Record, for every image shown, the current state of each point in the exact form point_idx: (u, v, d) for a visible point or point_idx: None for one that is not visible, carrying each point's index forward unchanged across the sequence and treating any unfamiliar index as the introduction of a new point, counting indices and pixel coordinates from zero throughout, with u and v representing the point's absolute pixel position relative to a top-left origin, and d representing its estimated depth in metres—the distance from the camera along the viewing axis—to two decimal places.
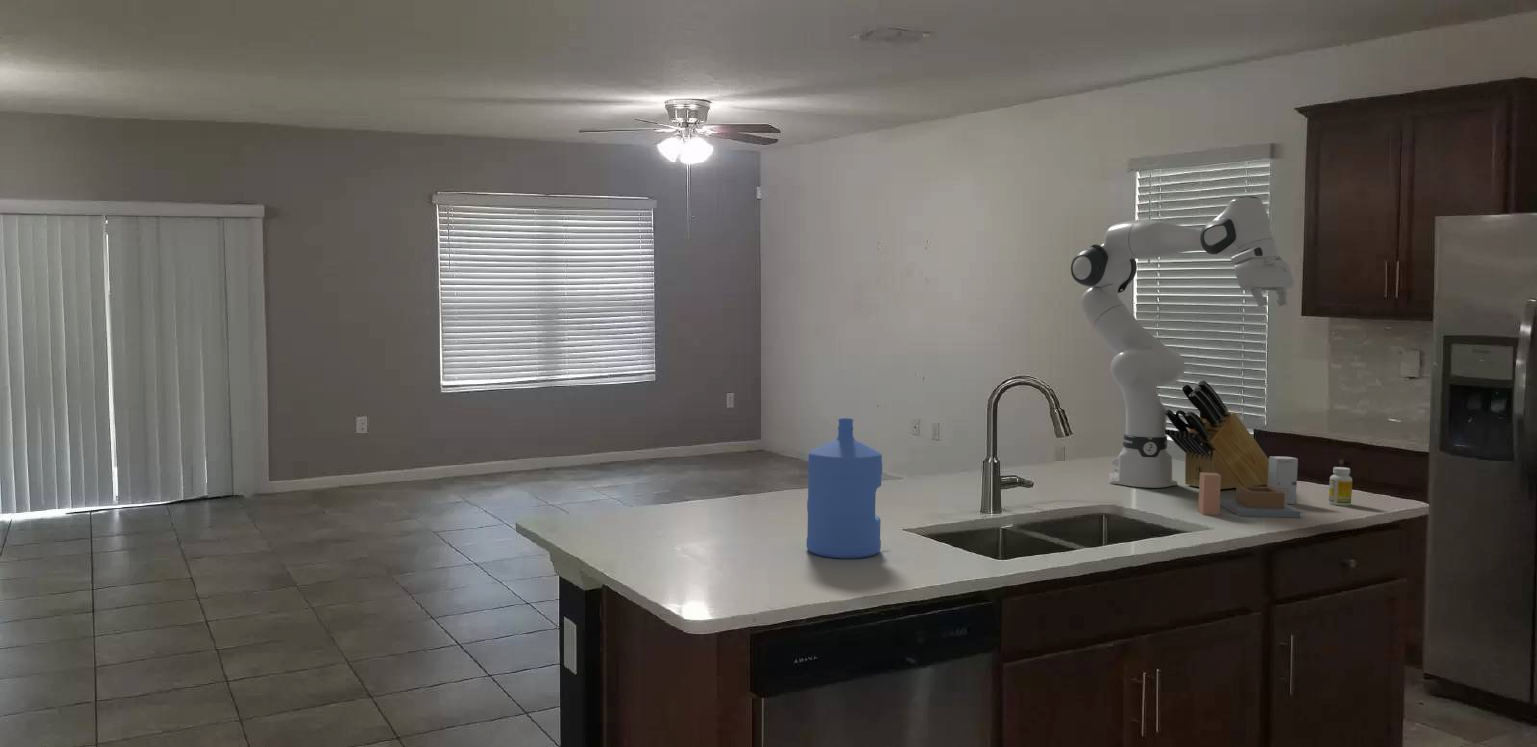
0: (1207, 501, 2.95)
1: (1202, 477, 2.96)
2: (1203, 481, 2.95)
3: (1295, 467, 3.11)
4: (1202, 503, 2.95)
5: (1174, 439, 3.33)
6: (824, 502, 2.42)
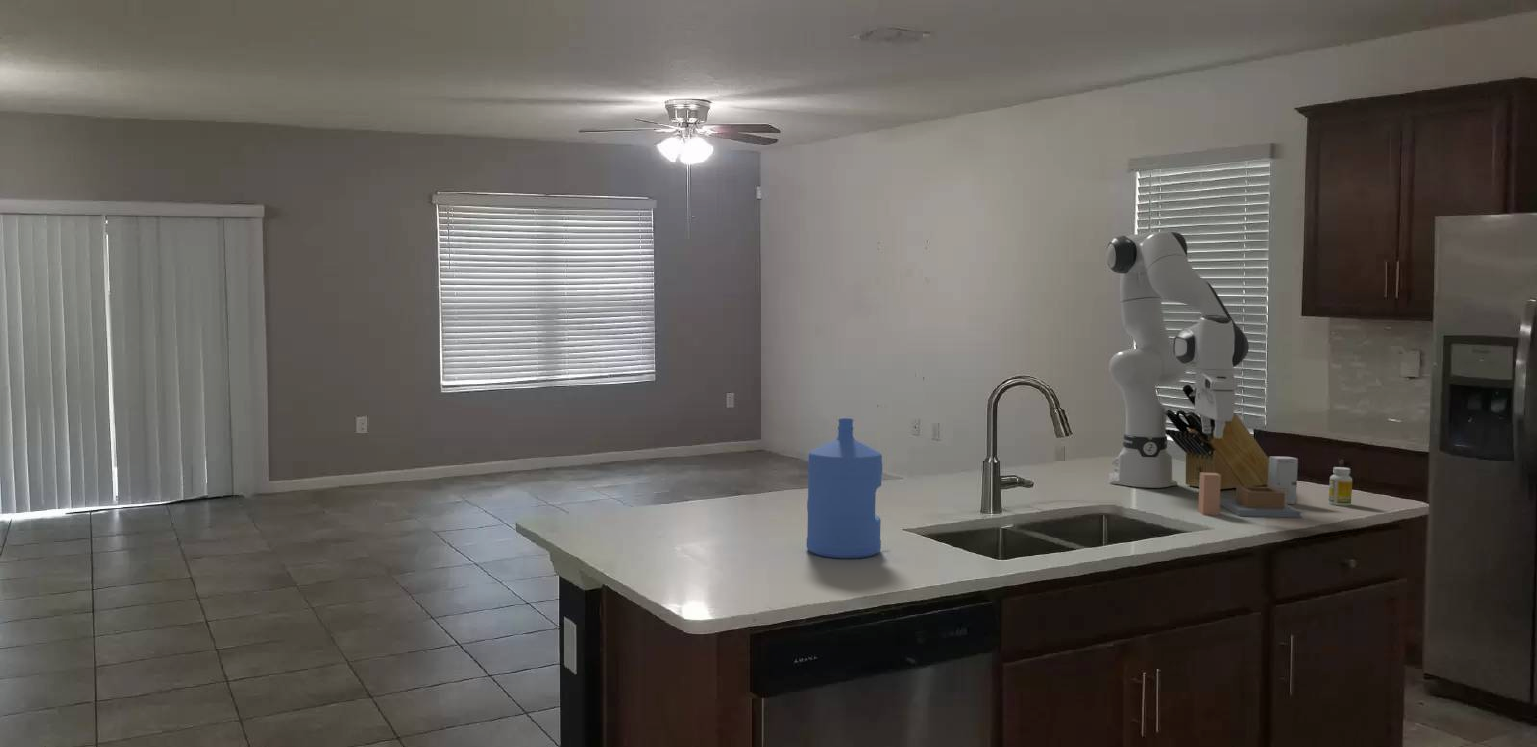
0: (1207, 501, 2.95)
1: (1202, 477, 2.96)
2: (1202, 481, 2.95)
3: (1295, 467, 3.11)
4: (1202, 503, 2.95)
5: (1174, 439, 3.33)
6: (824, 502, 2.42)
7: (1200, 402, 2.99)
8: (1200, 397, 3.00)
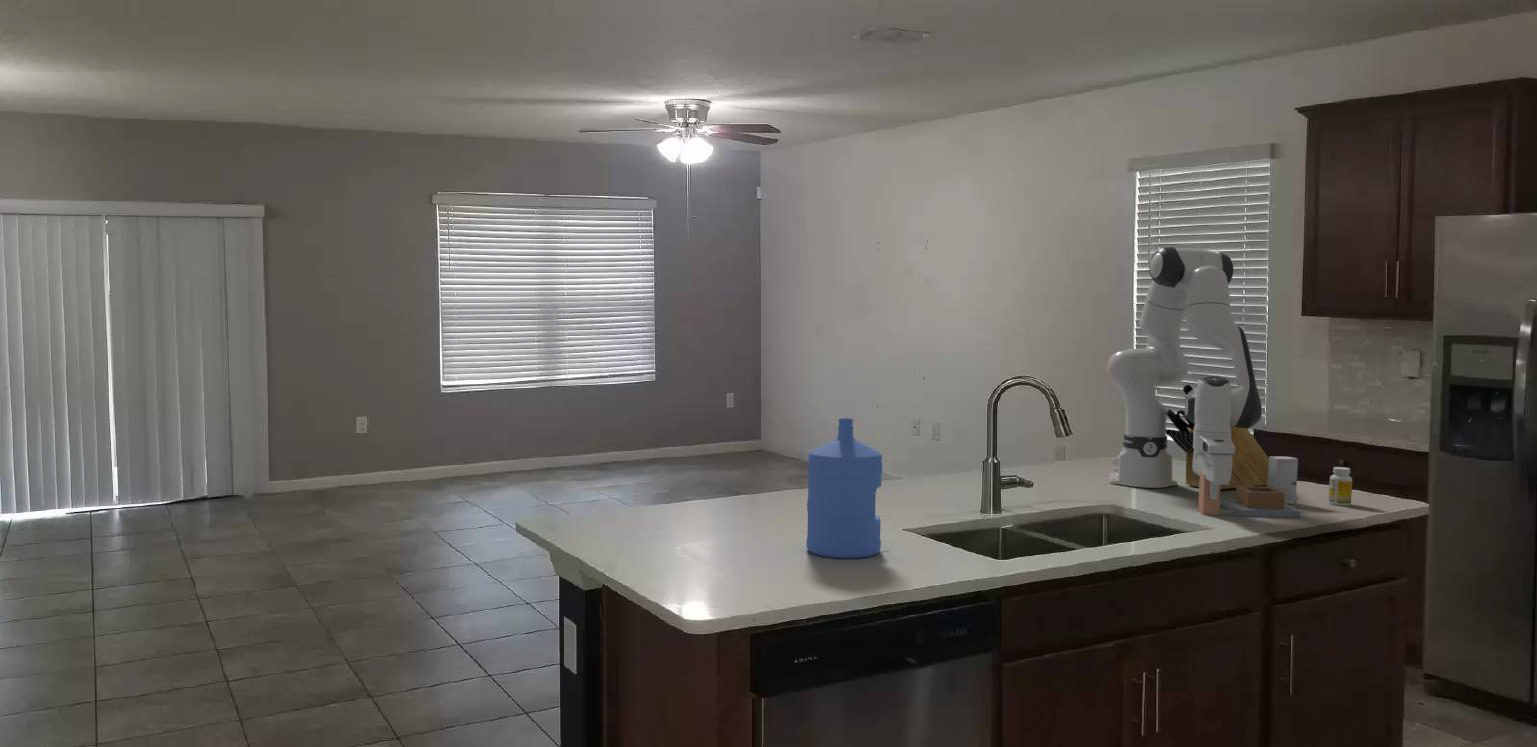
0: (1207, 501, 2.95)
1: (1202, 477, 2.96)
2: (1202, 481, 2.95)
3: (1295, 467, 3.11)
4: (1202, 503, 2.95)
5: (1175, 439, 3.33)
6: (824, 502, 2.42)
7: (1198, 462, 3.01)
8: (1198, 457, 3.02)
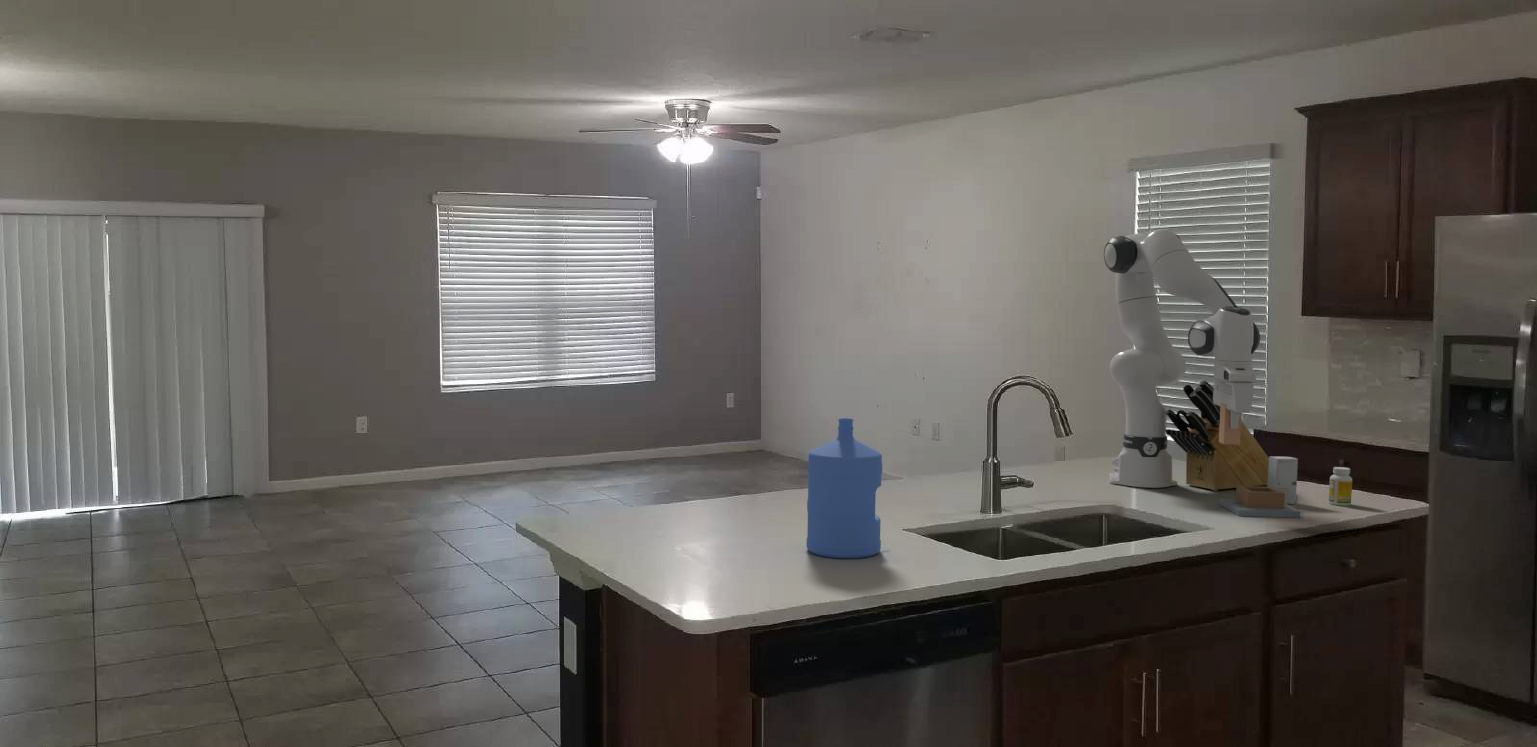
0: (1228, 431, 2.95)
1: (1223, 407, 2.96)
2: (1223, 411, 2.96)
3: (1295, 467, 3.11)
4: (1223, 433, 2.96)
5: (1175, 439, 3.33)
6: (824, 502, 2.42)
7: (1218, 393, 3.01)
8: (1218, 388, 3.02)
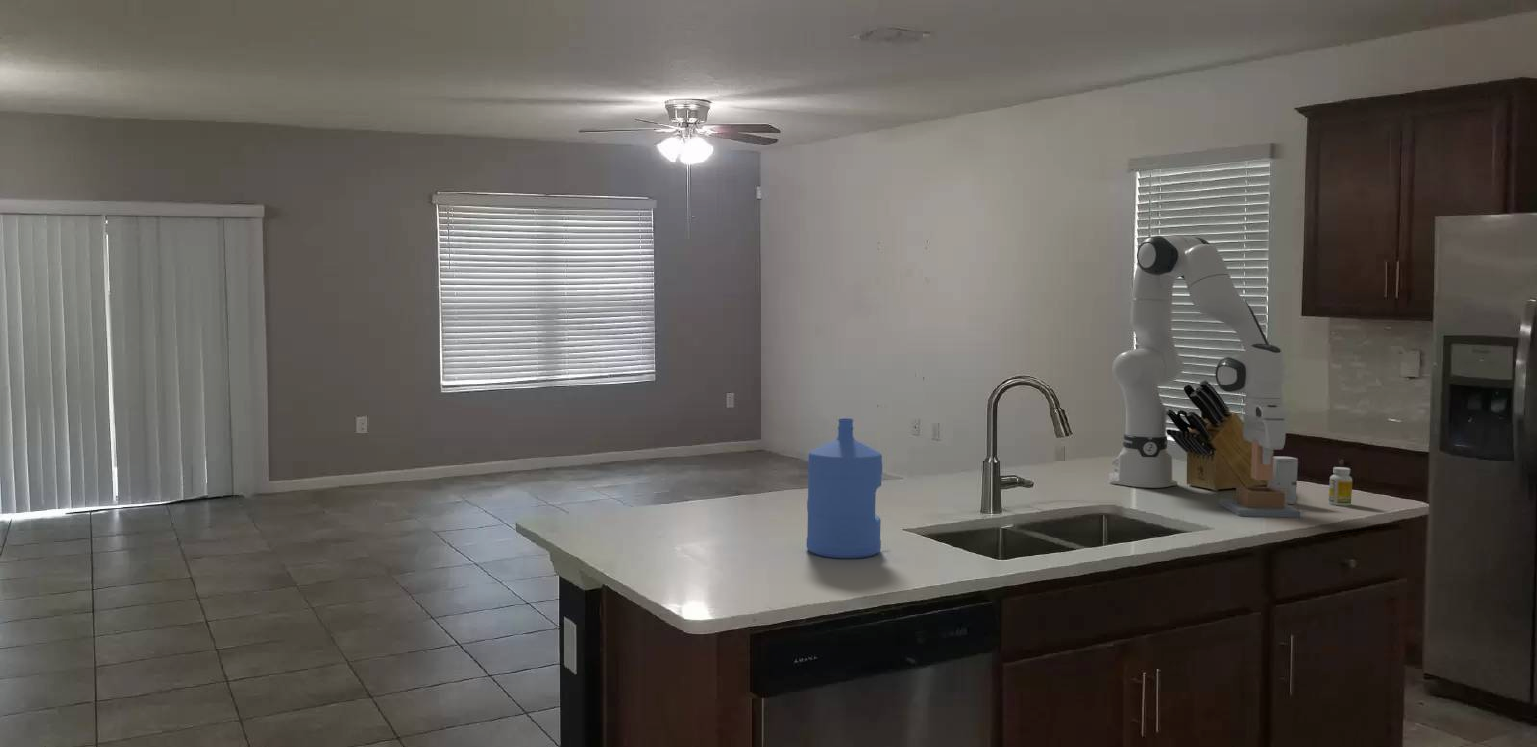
0: (1260, 467, 2.98)
1: (1255, 443, 2.99)
2: (1255, 447, 2.99)
3: (1295, 467, 3.11)
4: (1255, 469, 2.99)
5: (1175, 439, 3.33)
6: (824, 502, 2.42)
7: (1249, 429, 3.04)
8: (1249, 424, 3.05)
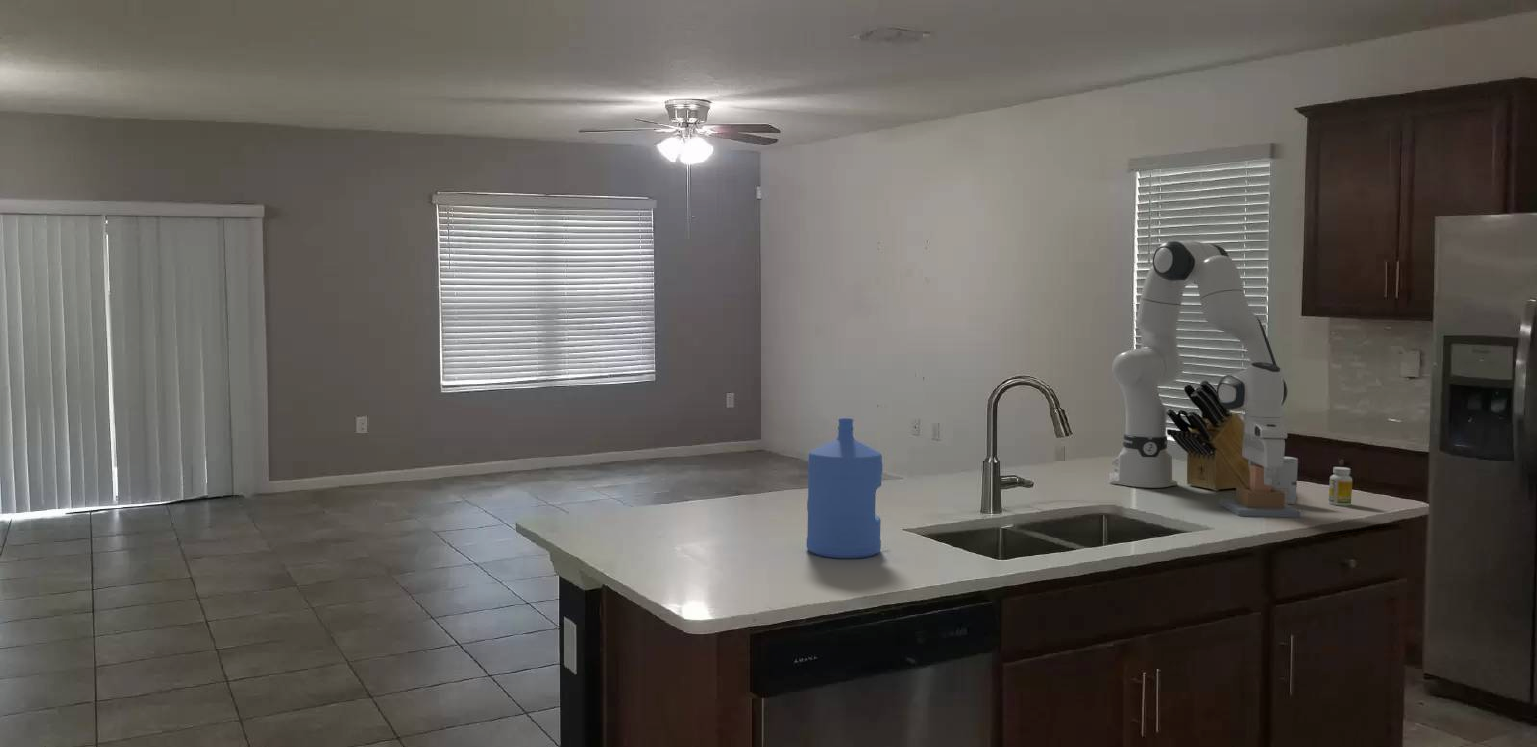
0: None
1: (1253, 469, 3.00)
2: (1253, 473, 2.99)
3: (1295, 467, 3.11)
4: None
5: (1176, 439, 3.33)
6: (824, 502, 2.42)
7: (1248, 447, 3.04)
8: (1248, 442, 3.05)
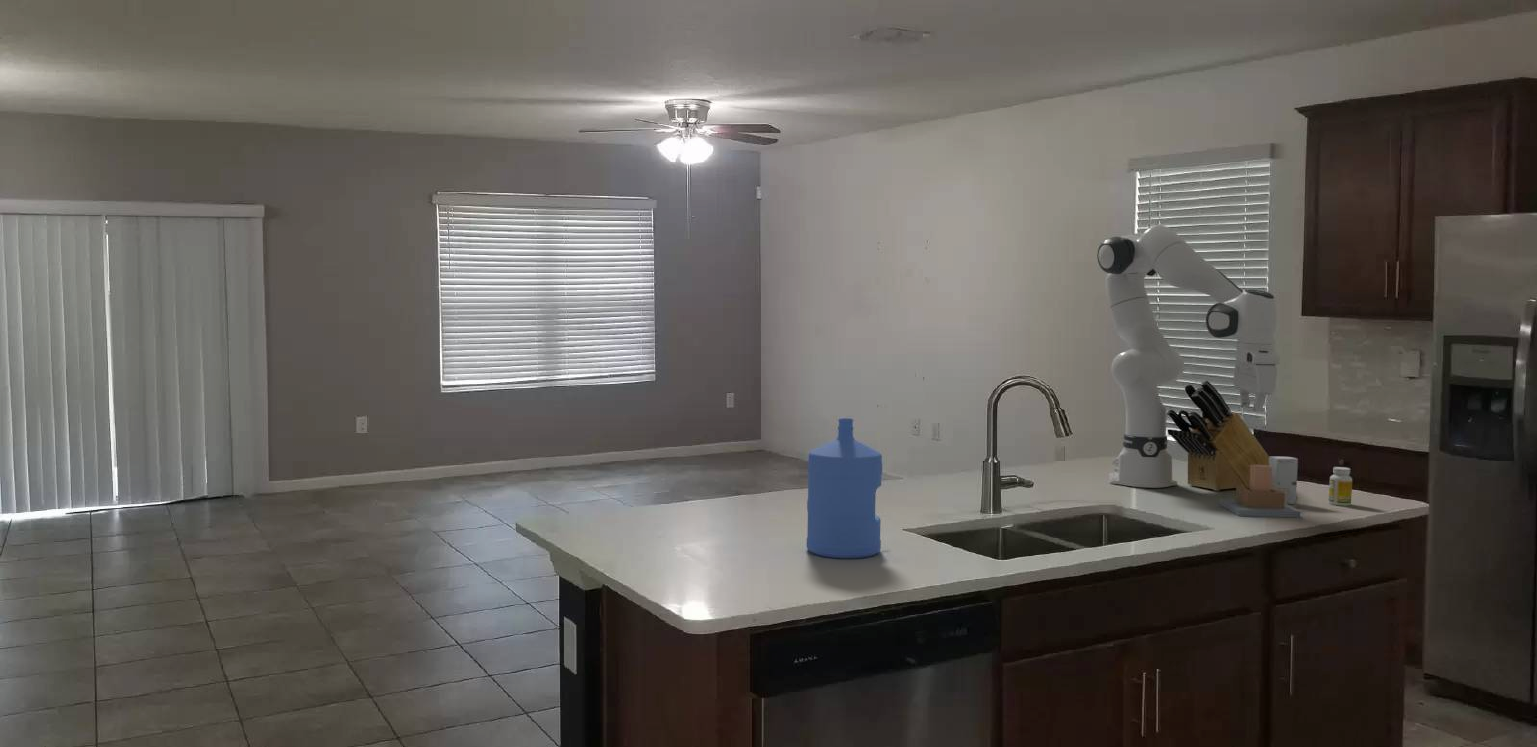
0: None
1: (1253, 469, 3.00)
2: (1253, 473, 2.99)
3: (1295, 467, 3.11)
4: None
5: (1177, 439, 3.33)
6: (824, 502, 2.42)
7: (1240, 375, 3.04)
8: (1240, 370, 3.05)
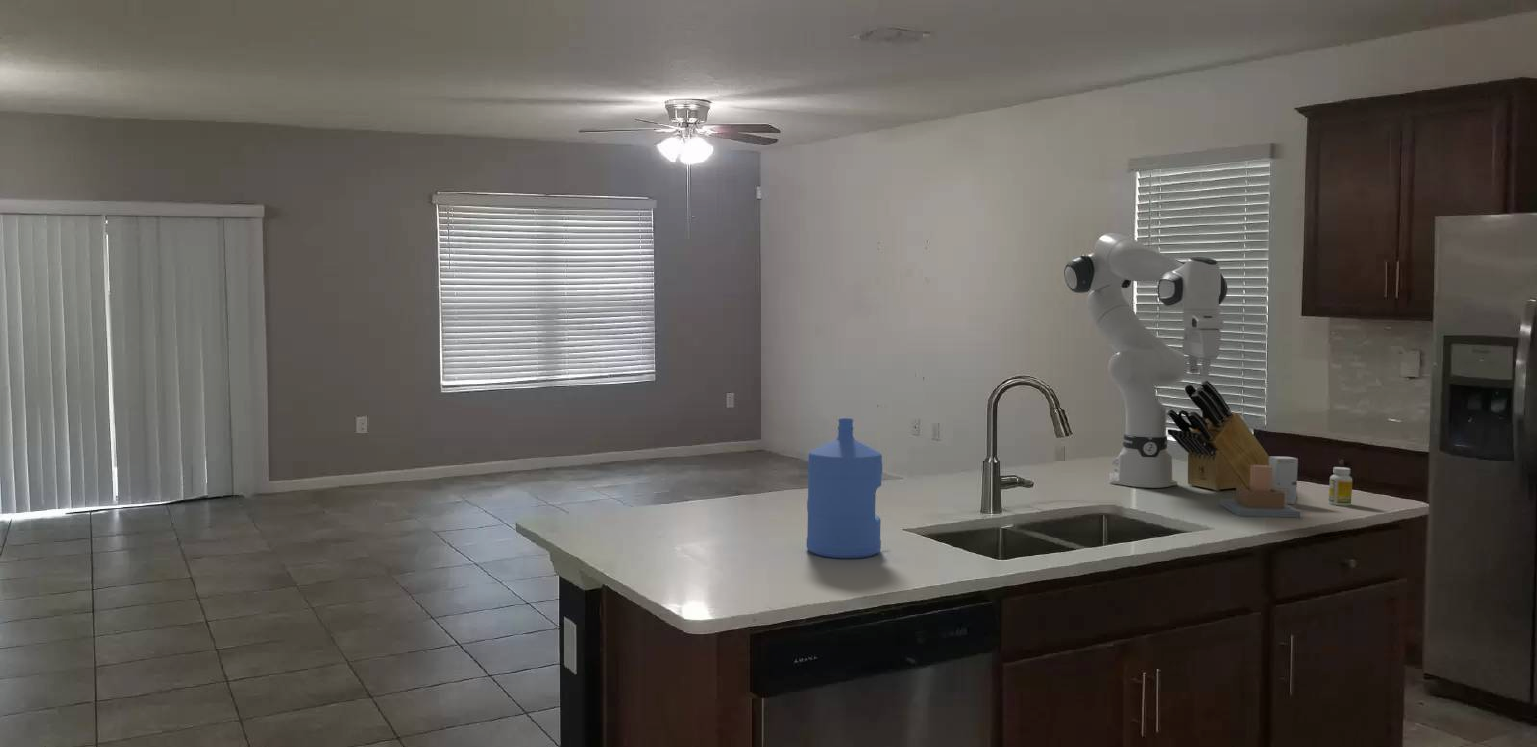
0: None
1: (1253, 469, 3.00)
2: (1253, 473, 2.99)
3: (1295, 467, 3.11)
4: None
5: (1177, 439, 3.33)
6: (824, 502, 2.43)
7: (1187, 342, 3.08)
8: (1187, 337, 3.09)
